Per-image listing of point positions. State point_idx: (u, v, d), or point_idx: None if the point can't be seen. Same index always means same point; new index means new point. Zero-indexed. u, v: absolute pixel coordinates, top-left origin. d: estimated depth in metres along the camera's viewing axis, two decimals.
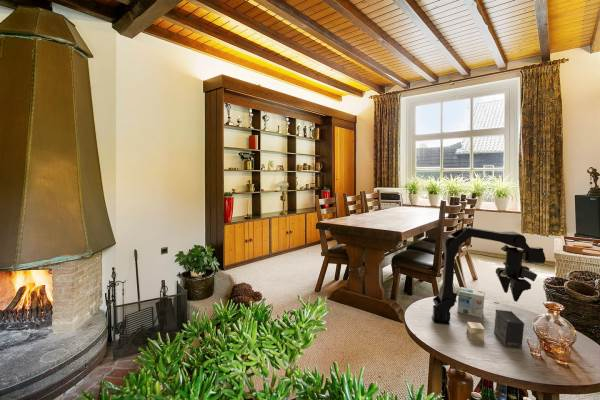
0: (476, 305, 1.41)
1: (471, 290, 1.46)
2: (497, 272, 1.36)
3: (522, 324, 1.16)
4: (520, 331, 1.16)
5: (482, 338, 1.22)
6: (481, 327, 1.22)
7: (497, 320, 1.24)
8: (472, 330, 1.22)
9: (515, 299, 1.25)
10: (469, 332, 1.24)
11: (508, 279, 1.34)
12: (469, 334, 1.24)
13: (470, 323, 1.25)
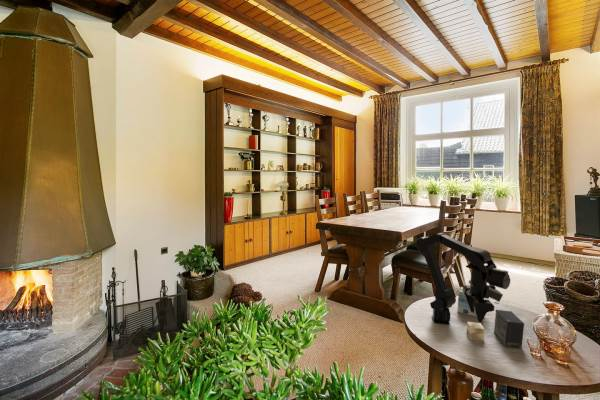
0: None
1: None
2: (464, 290, 1.30)
3: (522, 324, 1.16)
4: (520, 331, 1.16)
5: (482, 338, 1.22)
6: (481, 327, 1.22)
7: (497, 320, 1.24)
8: (472, 330, 1.22)
9: (479, 320, 1.19)
10: (469, 332, 1.24)
11: (474, 298, 1.28)
12: (469, 334, 1.24)
13: (470, 323, 1.25)
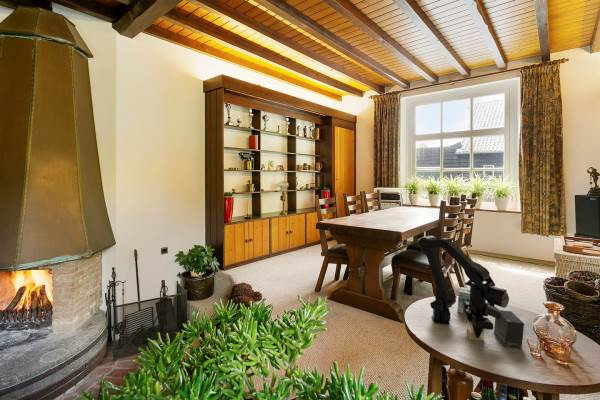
0: None
1: None
2: (463, 307, 1.31)
3: (522, 324, 1.16)
4: (520, 331, 1.16)
5: (482, 338, 1.22)
6: None
7: (497, 320, 1.24)
8: (472, 330, 1.22)
9: (477, 335, 1.21)
10: (469, 332, 1.24)
11: None
12: (469, 334, 1.24)
13: (470, 323, 1.25)
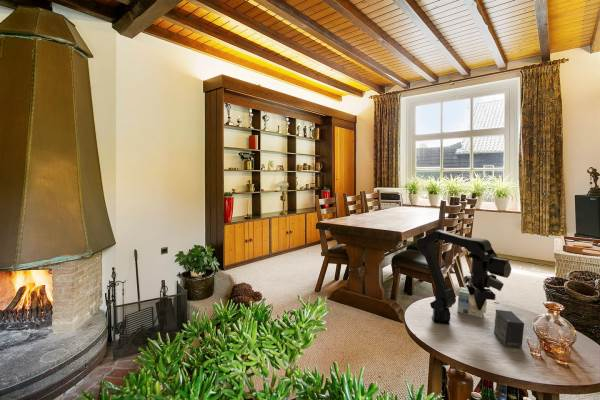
0: None
1: None
2: (464, 281, 1.30)
3: (522, 324, 1.16)
4: (520, 331, 1.16)
5: (484, 310, 1.20)
6: None
7: (497, 320, 1.24)
8: (474, 302, 1.21)
9: (479, 308, 1.20)
10: (471, 305, 1.23)
11: None
12: (471, 307, 1.22)
13: (471, 296, 1.24)
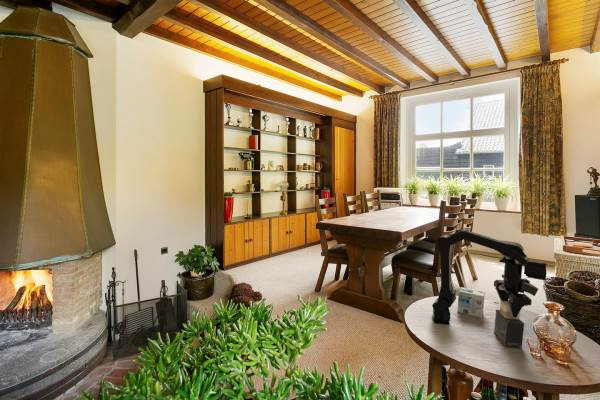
0: (476, 305, 1.41)
1: (471, 290, 1.46)
2: (495, 285, 1.27)
3: (522, 324, 1.16)
4: (520, 331, 1.16)
5: (517, 317, 1.18)
6: None
7: (498, 320, 1.24)
8: (507, 309, 1.19)
9: (514, 315, 1.16)
10: (503, 311, 1.20)
11: (507, 293, 1.25)
12: (504, 313, 1.20)
13: (504, 302, 1.22)
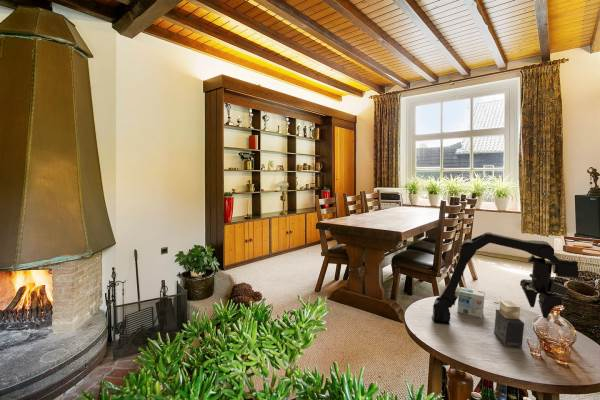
0: (476, 305, 1.41)
1: (471, 290, 1.46)
2: (522, 285, 1.25)
3: (522, 324, 1.16)
4: (520, 331, 1.16)
5: (517, 316, 1.18)
6: (516, 305, 1.19)
7: (498, 320, 1.24)
8: (507, 309, 1.19)
9: (544, 315, 1.14)
10: (503, 311, 1.20)
11: (535, 292, 1.23)
12: (504, 313, 1.20)
13: (503, 302, 1.22)
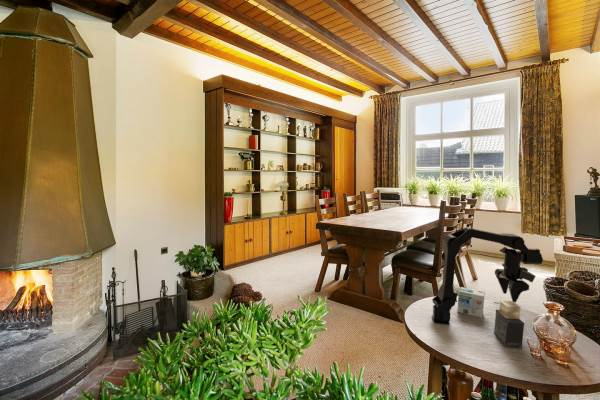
0: (476, 305, 1.41)
1: (471, 290, 1.46)
2: (496, 273, 1.39)
3: (522, 324, 1.16)
4: (520, 331, 1.16)
5: (518, 316, 1.18)
6: (516, 305, 1.19)
7: (498, 320, 1.24)
8: (507, 309, 1.18)
9: (514, 300, 1.27)
10: (504, 311, 1.20)
11: (507, 280, 1.36)
12: (505, 313, 1.20)
13: (503, 302, 1.21)
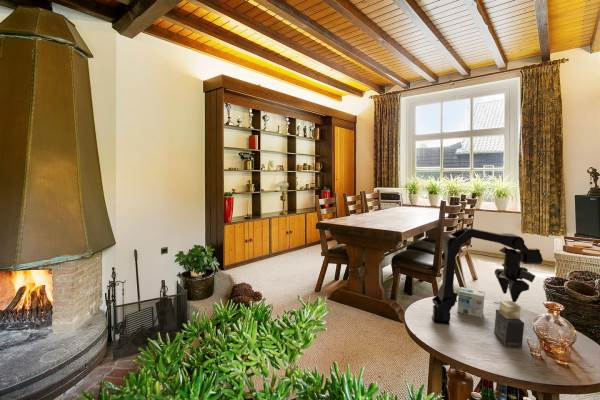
0: (476, 305, 1.41)
1: (471, 290, 1.46)
2: (496, 273, 1.39)
3: (522, 324, 1.16)
4: (520, 331, 1.16)
5: (518, 316, 1.18)
6: (517, 305, 1.19)
7: (498, 320, 1.24)
8: (508, 309, 1.18)
9: (514, 300, 1.27)
10: (504, 311, 1.20)
11: (507, 280, 1.36)
12: (505, 313, 1.19)
13: (504, 302, 1.21)
